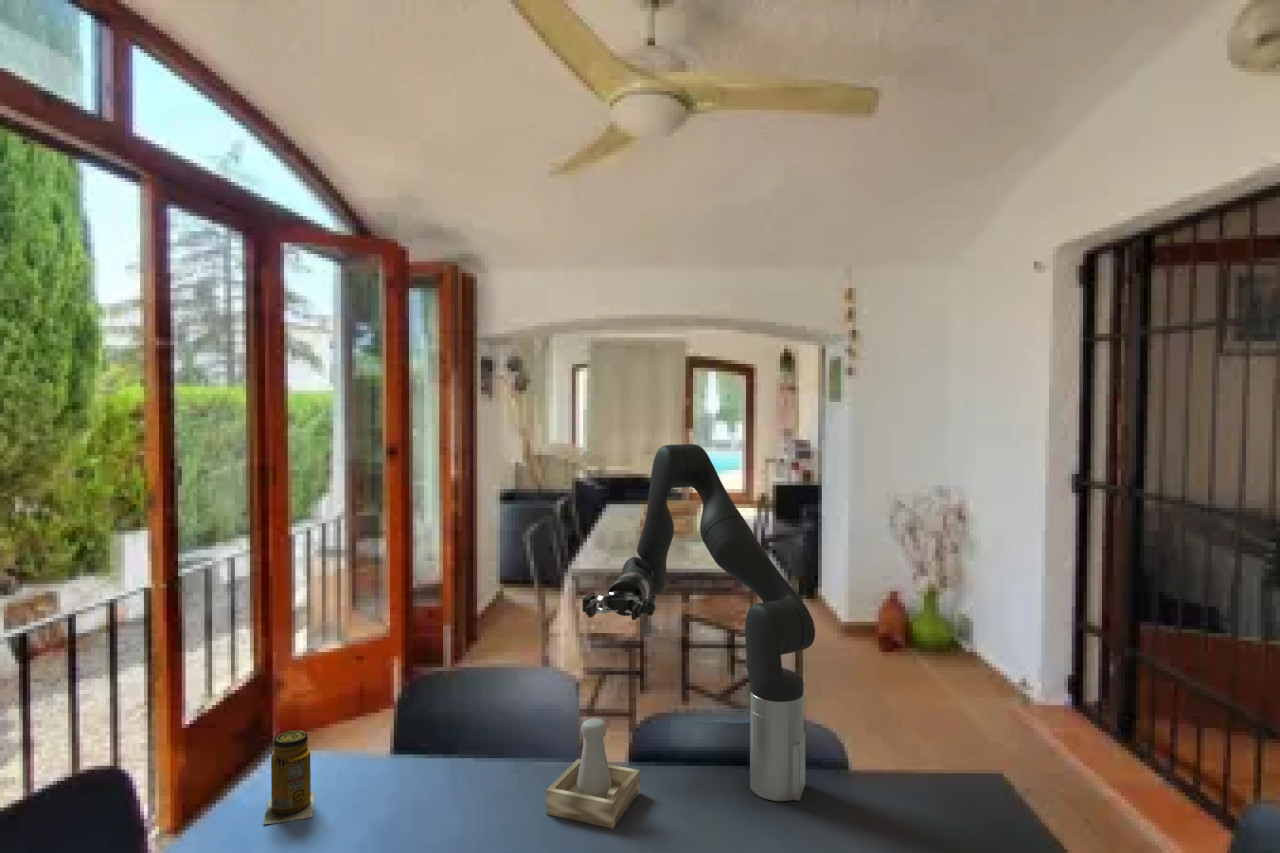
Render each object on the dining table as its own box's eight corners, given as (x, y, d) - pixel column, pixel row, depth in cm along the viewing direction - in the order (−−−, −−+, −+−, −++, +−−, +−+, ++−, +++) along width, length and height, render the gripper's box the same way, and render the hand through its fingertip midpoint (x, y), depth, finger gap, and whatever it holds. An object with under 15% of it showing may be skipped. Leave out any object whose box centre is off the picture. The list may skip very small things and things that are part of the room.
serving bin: (639, 792, 133) (639, 770, 133) (612, 828, 121) (612, 803, 121) (577, 780, 137) (577, 758, 137) (546, 813, 126) (546, 790, 126)
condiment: (315, 793, 133) (314, 725, 132) (312, 817, 125) (311, 745, 124) (268, 800, 130) (267, 731, 130) (262, 826, 122) (261, 752, 122)
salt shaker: (606, 807, 126) (606, 730, 125) (573, 804, 127) (572, 727, 127) (614, 790, 132) (614, 715, 131) (582, 786, 133) (582, 713, 132)
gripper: (596, 574, 162) (575, 592, 146) (662, 576, 159) (648, 595, 143) (596, 608, 162) (575, 631, 146) (662, 612, 159) (648, 635, 143)
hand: (611, 613), depth 145 cm, fingers open, 8 cm apart
